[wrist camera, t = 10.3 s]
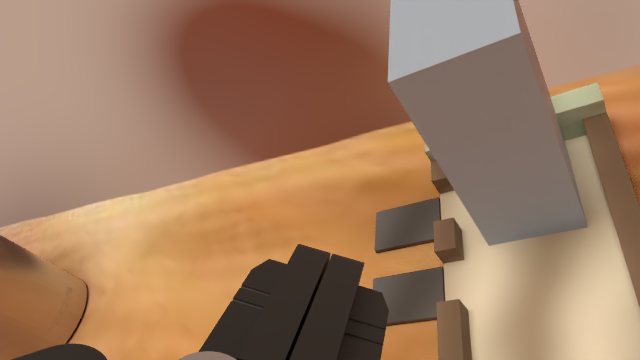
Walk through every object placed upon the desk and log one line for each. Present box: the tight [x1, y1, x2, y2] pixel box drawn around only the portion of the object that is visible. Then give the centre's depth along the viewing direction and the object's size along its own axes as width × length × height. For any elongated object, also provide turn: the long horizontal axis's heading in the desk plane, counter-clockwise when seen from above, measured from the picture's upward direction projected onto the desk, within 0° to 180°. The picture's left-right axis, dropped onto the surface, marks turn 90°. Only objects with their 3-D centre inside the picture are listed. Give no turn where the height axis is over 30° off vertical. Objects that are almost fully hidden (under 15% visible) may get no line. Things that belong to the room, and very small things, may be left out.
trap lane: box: [373, 82, 640, 360], centre depth 26 cm, size 15×17×3 cm
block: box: [388, 0, 588, 246], centre depth 24 cm, size 5×6×13 cm
